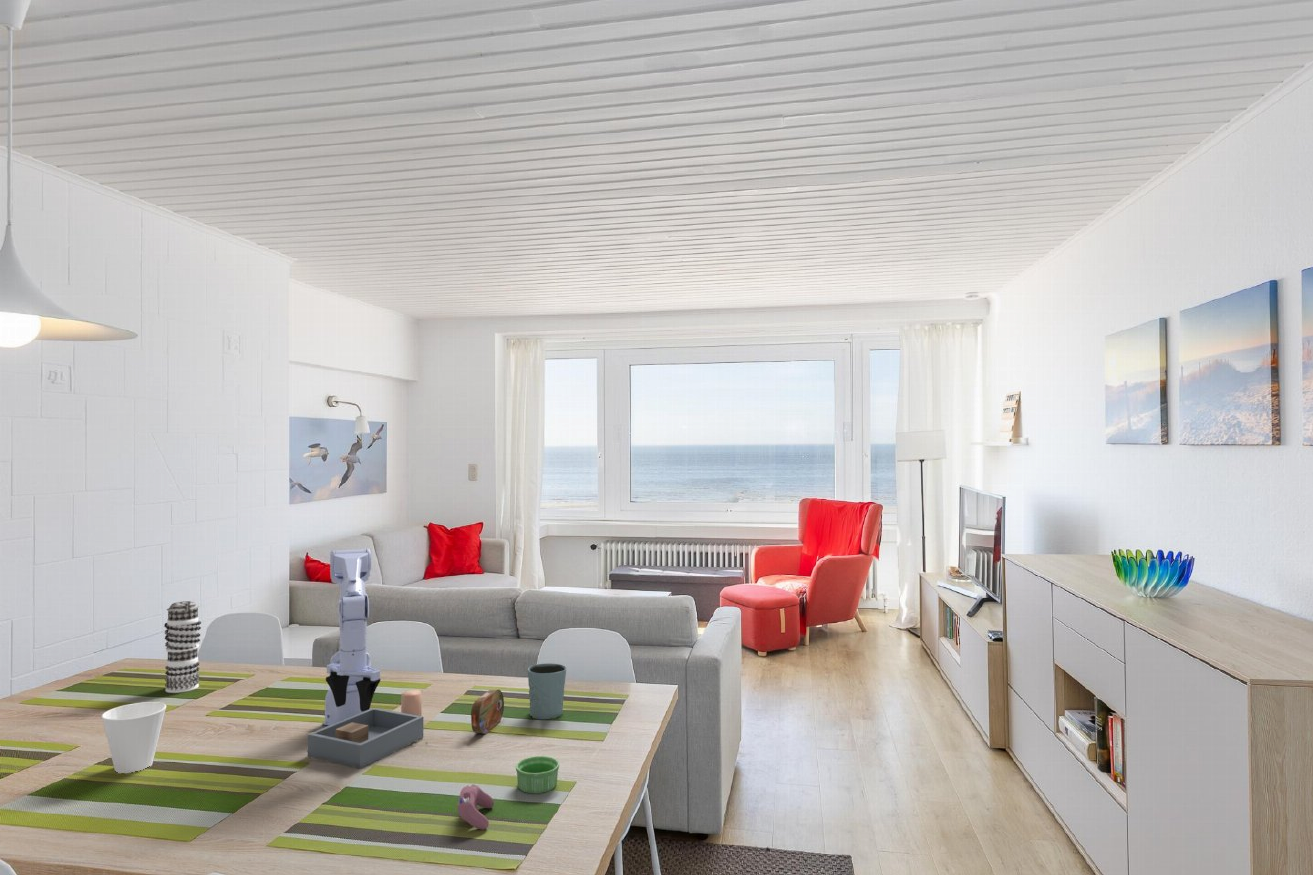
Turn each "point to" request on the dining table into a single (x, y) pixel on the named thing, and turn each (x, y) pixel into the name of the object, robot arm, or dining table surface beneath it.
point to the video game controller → (474, 806)
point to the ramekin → (537, 774)
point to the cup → (133, 734)
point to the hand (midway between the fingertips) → (352, 707)
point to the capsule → (411, 702)
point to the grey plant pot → (546, 690)
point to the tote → (383, 738)
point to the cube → (353, 732)
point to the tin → (487, 711)
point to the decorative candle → (182, 647)
